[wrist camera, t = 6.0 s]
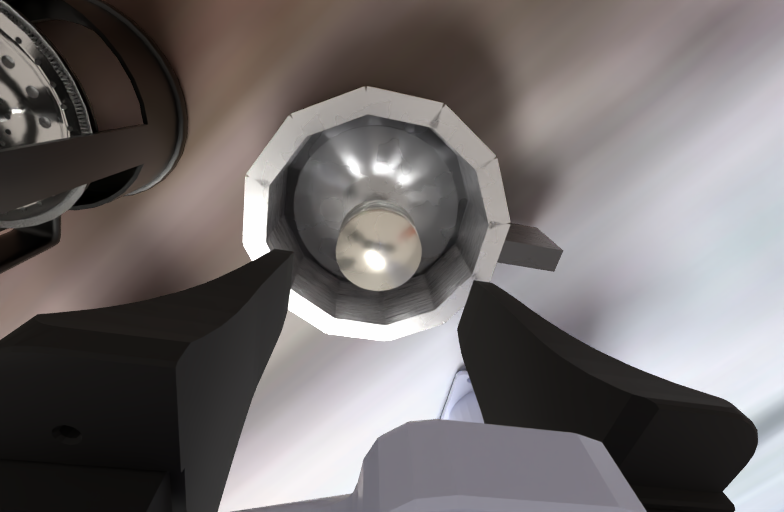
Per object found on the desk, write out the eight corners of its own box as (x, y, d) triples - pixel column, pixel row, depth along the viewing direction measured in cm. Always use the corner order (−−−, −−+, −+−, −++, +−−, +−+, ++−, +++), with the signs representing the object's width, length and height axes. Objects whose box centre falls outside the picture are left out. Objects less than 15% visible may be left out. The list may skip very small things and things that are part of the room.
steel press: (565, 129, 20) (616, 141, 16) (495, 312, 25) (520, 358, 21) (277, 65, 18) (249, 60, 14) (263, 278, 23) (239, 322, 19)
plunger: (475, 143, 19) (516, 167, 14) (433, 288, 23) (453, 351, 17) (304, 108, 18) (276, 118, 13) (289, 266, 22) (262, 327, 16)
